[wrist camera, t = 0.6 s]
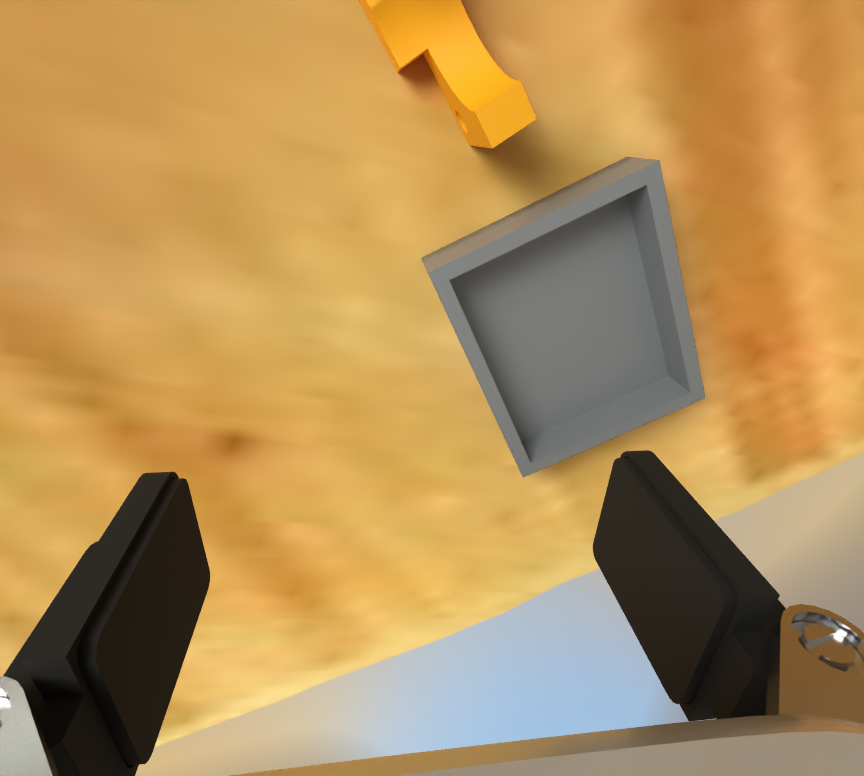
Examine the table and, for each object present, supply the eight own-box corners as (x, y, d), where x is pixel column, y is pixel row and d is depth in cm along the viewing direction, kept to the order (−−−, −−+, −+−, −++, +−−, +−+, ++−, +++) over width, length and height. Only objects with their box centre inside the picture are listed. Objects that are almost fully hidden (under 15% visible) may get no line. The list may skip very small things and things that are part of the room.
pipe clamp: (329, -53, 26) (320, -105, 20) (399, -107, 25) (409, -177, 19) (445, 161, 31) (463, 168, 26) (504, 120, 31) (536, 118, 25)
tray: (627, 157, 32) (659, 160, 29) (675, 374, 41) (705, 398, 37) (421, 258, 34) (427, 273, 30) (509, 448, 42) (523, 477, 38)
